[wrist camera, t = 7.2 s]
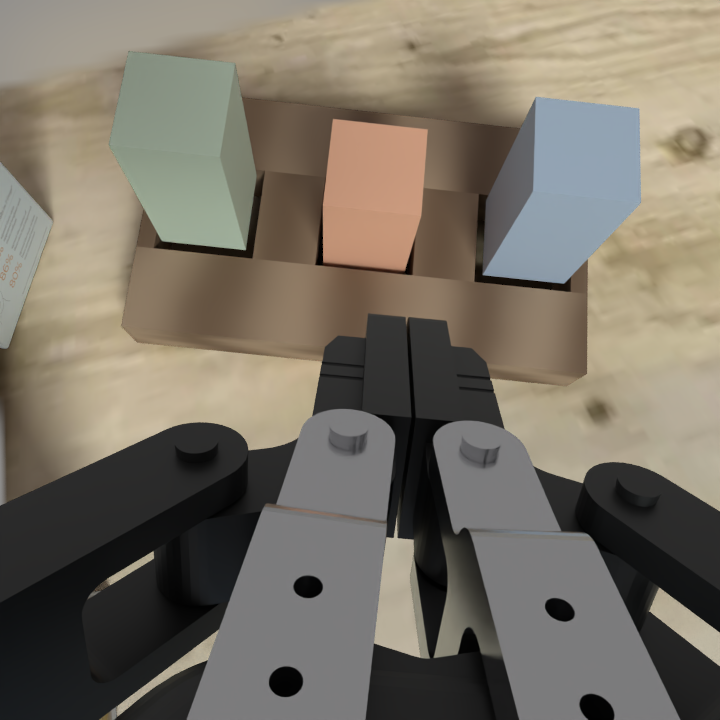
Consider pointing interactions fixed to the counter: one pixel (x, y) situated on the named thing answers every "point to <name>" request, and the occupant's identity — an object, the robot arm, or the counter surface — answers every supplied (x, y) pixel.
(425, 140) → the terracotta block
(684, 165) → the counter surface
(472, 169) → the walnut board
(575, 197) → the slate block
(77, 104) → the counter surface
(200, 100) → the sage block
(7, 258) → the small box
